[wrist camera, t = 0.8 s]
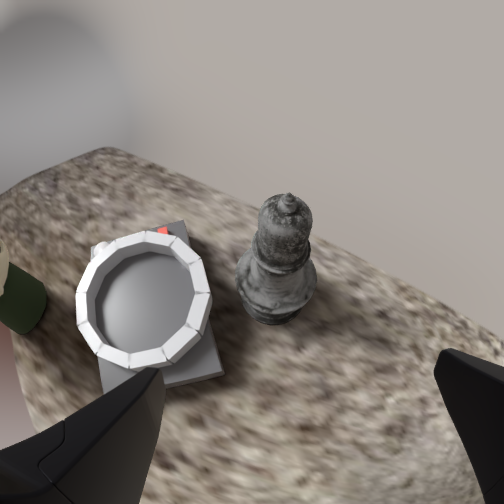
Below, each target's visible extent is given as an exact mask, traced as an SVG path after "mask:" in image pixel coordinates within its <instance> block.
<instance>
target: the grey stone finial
mask: <svg viewBox="0 0 504 504" xmlns="http://www.w3.org/2000/svg"><path fill="white" fill-rule="evenodd" d="M312 222H313V221H312V213H311V211H310V209H309V207H308V206H307V205H306V204H305V202H304V201H302V200H301V199H300V198H298V197H296V196H294V195H292V194H291V193H286V194H279V195H275V196H273V197H271V198H269V199H268V200H266V201H265V202H264V204H263V205H262V206H261V209H260V212H259V216H258V230H257V232H256V233H255V235H254V236H253V239H252V242H251V248H250V249H248V250H247V251H246V252H245V253H244V254H243V255H242V257H241V258H240V260H239V261H238V264H237V267H236V270H235V282H236V286H237V290H238V292H239V293H240V295H241V300H242V304H243V306H244V308H245V310H246V311H247V313H248V314H249V315H250V316H251V317H252V318H253V319H255V320H257V321H259V322H261V323H264V324H268V325H279V324H283V323H286V322H288V321H290V320H292V319H293V318H294V317H295V316H296V315H297V314H298V313H299V312H300V310H301V309H302V307H303V306H304V305H305V304H306V303H307V302H308V301H309V300H310V299H311V297H312V295H313V293H314V291H315V288H316V283H317V275H316V269H315V267H314V264H313V262H312V260H311V259H310V258H309V257H310V252H311V247H310V242H309V240H308V238H309V235H310V231H311V228H312Z"/></svg>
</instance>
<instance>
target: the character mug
mask: <svg viewBox="0 0 504 504" xmlns="http://www.w3.org/2000/svg"><path fill="white" fill-rule="evenodd" d="M45 307H46V290H45V288H44V285H43V283H42V282H40V281H39V280H37V279H36V278H34V277H33V276H31V275H30V274H28V273H27V272H25V271H24V270H22V269H20V268H19V267H17V266H15V265H14V264H12V263H10V262H9V253H8V249H7V247H6V245H5V243H4V242H3V241H2V240H1V239H0V321H1V322H2V323H3V324H5V325H6V326H7V327H9V328H10V329H12V330H13V331H15V332H16V333H17V334H26V333H28V332H29V331H30V330H32V329H33V328H34V327H35V325H36V324H37V322H38V321H39V319H40V318H41V316H42V313H43V311H44V309H45Z"/></svg>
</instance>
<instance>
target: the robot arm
mask: <svg viewBox="0 0 504 504" xmlns="http://www.w3.org/2000/svg"><path fill="white" fill-rule="evenodd" d="M434 377H435V380H436V382H437V385H438V387H439V390H440V392H441V395H442V398H443V400H444V403H445V406H446V408H447V410H448V413H449V415H450V417H451V419H452V421H453V423H454V425H455V427H456V429H457V432H458V434H459V436H460V438H461V441H462V443H463V445H464V447H465V450H466V452H467V455H468V457H469V459H470V462H471V464H472V467H473V469H474V472H475V475H476V477H477V480H478V483H479V485H480V488H481V491H482V494H483V498H484V501H485V504H504V367H502V366H500V365H497V364H494V363H491V362H488V361H486V360H483V359H480V358H477V357H475V356H472V355H469V354H466V353H464V352H461V351H458V350H455V349H453V348H448V349H444V350H442V351H441V352H440V354H439V357H438V359H437V362H436V365H435V368H434ZM165 397H166V387H165V383H164V379H163V374H162V371H161V369H160V368H157V367H146V368H144V369H143V370H141V371H140V372H138V373H137V374H135V375H134V376H132V377H130V378H129V379H127V380H126V381H124V382H123V383H121V384H120V385H118V386H117V387H115V388H113V389H112V390H110V391H109V392H107V393H106V394H104V395H102V396H101V397H99V398H98V399H96V400H94V401H93V402H91V403H90V404H88V405H86V406H85V407H83V408H82V409H80V410H78V411H77V412H75V413H73V414H72V415H70V416H69V417H67V418H65V419H64V420H62V421H60V422H58V423H57V424H55V425H53V426H52V427H50V428H48V429H46V430H44V431H42V432H41V433H39V434H37V435H34V436H32V437H30V438H28V439H26V440H24V441H21V442H19V443H16V444H14V445H12V446H9V447H7V448H5V449H2V450H0V504H139V502H140V498H141V495H142V491H143V488H144V484H145V481H146V477H147V474H148V470H149V467H150V464H151V460H152V457H153V454H154V450H155V447H156V444H157V440H158V436H159V431H160V426H161V420H162V414H163V408H164V403H165Z"/></svg>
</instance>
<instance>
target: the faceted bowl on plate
mask: <svg viewBox="0 0 504 504" xmlns="http://www.w3.org/2000/svg"><path fill="white" fill-rule="evenodd" d="M76 292H77V293H76V316H77V325H78V328H79V330H80V332H81V333H82V335H83V337H84V338H85V340H86V341H87V343H88V344H89V346H90V347H91V349H92V350H93V352H94V353H95V354H96V355H97V356H98V363H99V370H100V376H101V382H102V387H103V393H104V394H106V393H107V392H109V391H110V390H112V389H113V388H115V387H117V386H118V385H120V384H121V383H123V382H124V381H126V380H127V379H129V378H130V377H132V376H134V375H135V374H137V373H138V372H140V371H141V370H143V369H144V368H146V367H157V368H160V369H161V371H162V374H163V379H164V383H165V387H166V389H167V388H172V387H176V386H181V385H186V384H190V383H194V382H199V381H203V380H207V379H211V378H215V377H219V376H222V375H225V372H224V369H223V365H222V362H221V359H220V355H219V352H218V348H217V345H216V341H215V338H214V334H213V331H212V327H211V324H210V320H209V313H210V309H211V306H212V303H213V301H212V300H213V299H212V295H211V291H210V288H209V284H208V280H207V276H206V272H205V269H204V265H203V262H202V259H201V257H200V256H198V255H197V254H196V253H195V252H194V251H193V250H192V248H191V244H190V239H189V235H188V232H187V229H186V226H185V223H184V220H181V221H177V222H174V223H170V224H166V225H163V226H159V227H156V228H152V229H149V230H145V231H142V232H138V233H135V234H132V235H128V236H125V237H122V238H118V239H115V240H112V241H109V242H101V243H99V244H98V245H96V246H93V247H91V263H89V264H88V266H87V268H86V271H85V273H84V275H83V277H82V279H81V282H80V284H79V286H78V288H77V291H76Z"/></svg>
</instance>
